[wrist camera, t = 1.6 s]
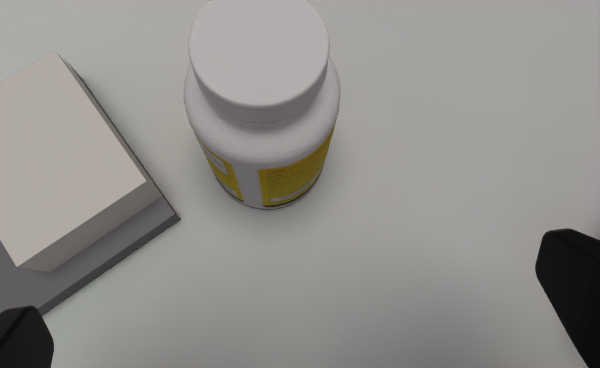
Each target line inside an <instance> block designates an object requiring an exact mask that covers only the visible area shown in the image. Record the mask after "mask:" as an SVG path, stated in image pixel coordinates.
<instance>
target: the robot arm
mask: <svg viewBox="0 0 600 368" xmlns="http://www.w3.org/2000/svg"><path fill="white" fill-rule="evenodd" d="M535 270H536V275H537V278H538V280H539V282H540V284H541V286H542V287H543V289H544V291H545V293H546V295H547V297H548V298H549V300H550V302H551V304H552V306H553V308H554V309H555V311H556V313H557V315H558V317H559V319H560V320H561V322H562V324H563V326H564V328H565V330H566V331H567V333H568V335H569V337H570V339H571V340H572V342H573V344H574V346H575V347H576V349H577V351H578V352H579V354H580V355H581V357H582V359H583V360H584V362H585V363H586V365H587V366H588V368H600V240H598V239H595V238H593V237H590V236H588V235H585V234H583V233H580V232H578V231H575V230H572V229H567V228H566V229H558V230H551V231H548V232H546V233H545V234H544V235H543V238H542V241H541V245H540V249H539V253H538V257H537V261H536V265H535ZM53 352H54V342H53V338H52V336H51V334H50V332H49V330H48V328H47V326H46V324H45V322H44V320H43V318H42V316H41V314H40V312H39V310H38V309H37V308H36V307H35V306H32V305H26V306H19V307H12V308H8V309H6V310H4V311H3V312H1V313H0V368H51V363H52V358H53Z"/></svg>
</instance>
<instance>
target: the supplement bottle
mask: <svg viewBox="0 0 600 368" xmlns="http://www.w3.org/2000/svg"><path fill="white" fill-rule="evenodd" d="M329 49H330V44H329V36H328V31H327V28H326V25H325V23H324V20H323V19H322V17H321V15H320V14H319V12H318V11H317V10H316V8H315V7H314V6H313V5H312V4H311V3H310V2H309V1H308V0H209V1H208V2H207V3H206V4H205V5H204V6H203V8H202V9H201V10H200V12H199V13H198V14H197V16H196V18H195V20H194V22H193V24H192V27H191V30H190V34H189V41H188V51H189V57H190V61H191V63H190V65H189V68H188V71H187V74H186V78H185V84H184V104H185V108H186V112H187V115H188V118H189V122H190V124H191V127H192V128H193V130H194V133H195V135H196V137H197V139H198V141H199V143H200V145H201V147H202V149H203V151H204V153H205V155H206V157H207V160H208V162H209V164H210V166H211V168H212V170H213V173H214V174H215V176H216V178H217V180H218V182H219V183H220V184H221V186H222V187H223V188H224V190H225V191H226V192H227V193H228V194H229V195H230V196H232V197H233V198H234V199H236V200H237V201H239V202H241V203H243V204H245V205H248V206H251V207H254V208H260V209H275V208H281V207H284V206H287V205H290V204H292V203H294V202H296V201H298V200H299V199H301V198H302V197H303V196H305V195H306V194H307V193H308V192H309V191H310V190H311V189H312V187H313V186H314V185H315V183H316V181H317V180H318V178H319V176H320V174H321V171H322V168H323V165H324V161H325V158H326V155H327V151H328V148H329V144H330V141H331V137H332V134H333V130H334V126H335V122H336V119H337V115H338V111H339V104H340V81H339V77H338V73H337V70H336V67H335V65H334V63H333V61H332V59H331V57H330V56H329Z"/></svg>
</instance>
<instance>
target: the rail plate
mask: <svg viewBox="0 0 600 368" xmlns="http://www.w3.org/2000/svg"><path fill="white" fill-rule="evenodd" d="M179 220H180V218H179V216H178V215H177V213H176V212H175V210H174V209H173V208H172V206H171V205H170V203H169V202H168V200H167V199H166V198H165V196H164V195H163V193H162V192H161V191H160V189H159V188H158V186H157V185H156V183H155V182H154V181H153V179H152V178H151V176H150V175H149V173H148V172H147V171H146V169H145V168H144V166H143V165H142V163H141V162H140V161H139V159H138V158H137V156H136V155H135V154H134V152H133V151H132V149H131V148H130V146H129V145H128V144H127V142H126V141H125V139H124V138H123V136H122V135H121V134H120V132H119V131H118V129H117V128H116V126H115V125H114V124H113V122H112V121H111V119H110V118H109V116H108V115H107V114H106V112H105V111H104V109H103V108H102V107H101V105H100V104H99V102H98V101H97V99H96V98H95V97H94V95H93V94H92V92H91V91H90V89H89V88H88V87H87V85H86V84H85V82H84V81H83V79H82V78H81V77H80V76H79V74H78V73H77V72H76V71H75V70H74V69H73V67H72V66H71V65H70V64H69V63H68V62H67V60H66V59H65V58H64V59H62V58H61V57H60V55H59V54H58V53H57V52H56V51H55V52H54V53H52V54H50V55H48V56H47V57H45V58H43V59H41V60H40V61H38V62H36V63H34V64H33V65H31V66H29V67H27V68H26V69H24V70H22V71H20V72H19V73H17V74H15V75H13V76H12V77H10V78H8V79H6V80H5V81H3V82H1V83H0V313H1V312H3V311H4V310H6V309H8V308H12V307H19V306H26V305H32V306H35V307H36V308H37V309H38V310H39V312H40V314H41V316H42V315H43V314H45V313H46V312H48V311H49V310H50V309H52V308H53V307H55V306H56V305H58V304H59V303H61V302H62V301H63V300H65V299H66V298H68V297H69V296H71V295H72V294H74V293H75V292H76V291H78V290H79V289H81V288H82V287H84V286H85V285H86V284H88V283H89V282H91V281H92V280H94V279H95V278H97V277H98V276H99V275H101V274H102V273H104V272H105V271H107V270H108V269H110V268H111V267H112V266H114V265H115V264H117V263H118V262H120V261H121V260H123V259H124V258H125V257H127V256H128V255H130V254H131V253H133V252H134V251H135V250H137V249H138V248H140V247H141V246H143V245H144V244H146V243H147V242H148V241H150V240H151V239H153V238H154V237H156V236H157V235H159V234H160V233H161V232H163V231H164V230H166V229H167V228H169V227H170V226H171V225H173V224H174V223H176V222H177V221H179Z"/></svg>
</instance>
